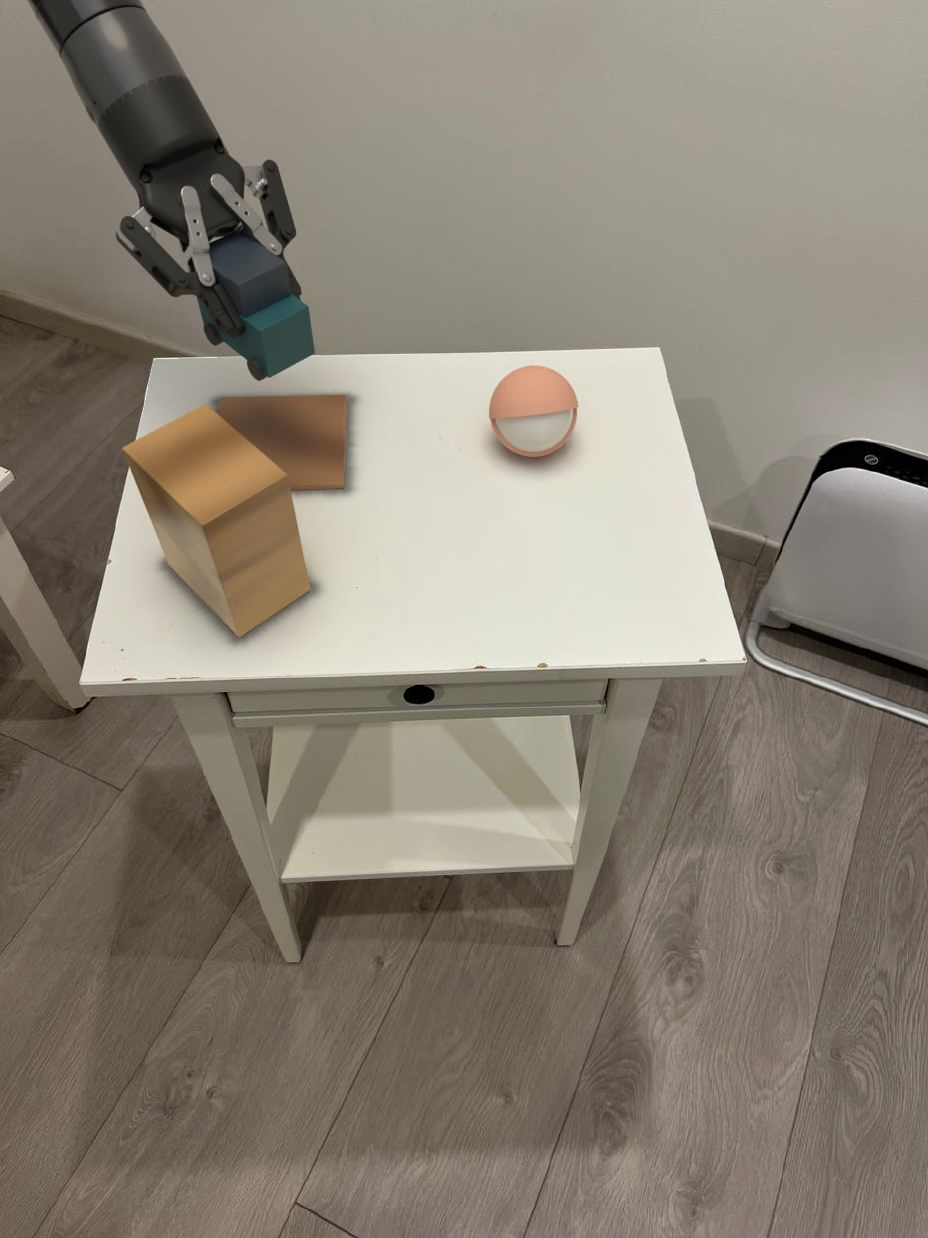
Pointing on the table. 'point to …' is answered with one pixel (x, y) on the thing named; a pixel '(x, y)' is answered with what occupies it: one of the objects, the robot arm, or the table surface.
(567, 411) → the toy ball
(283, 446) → the mat
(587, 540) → the table surface
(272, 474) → the wooden block
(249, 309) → the toy van
